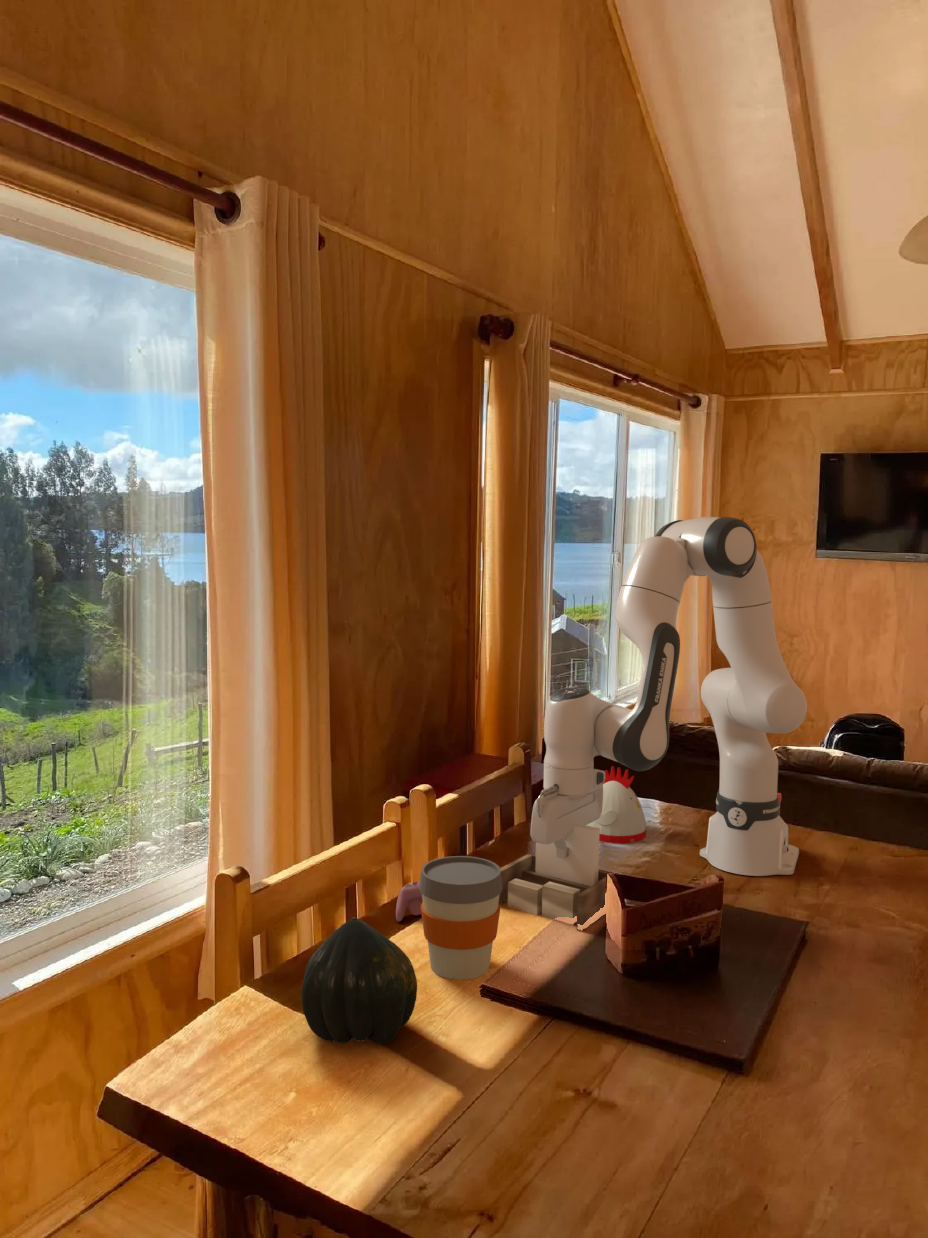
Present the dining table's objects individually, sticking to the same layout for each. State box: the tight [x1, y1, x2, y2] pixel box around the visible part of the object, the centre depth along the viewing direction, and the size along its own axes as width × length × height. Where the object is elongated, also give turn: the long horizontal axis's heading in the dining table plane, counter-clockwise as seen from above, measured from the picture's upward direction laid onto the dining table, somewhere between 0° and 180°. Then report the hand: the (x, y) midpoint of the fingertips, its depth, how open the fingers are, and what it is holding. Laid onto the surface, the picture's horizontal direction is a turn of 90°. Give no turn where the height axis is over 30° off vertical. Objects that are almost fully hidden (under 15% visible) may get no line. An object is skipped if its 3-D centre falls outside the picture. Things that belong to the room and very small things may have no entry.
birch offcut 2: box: [541, 882, 580, 921], centre depth 157 cm, size 2×6×6 cm, turn 54°
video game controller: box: [395, 880, 423, 923], centre depth 157 cm, size 10×5×7 cm, turn 85°
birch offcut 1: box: [507, 878, 542, 916], centre depth 161 cm, size 2×6×4 cm, turn 54°
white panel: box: [535, 824, 600, 886], centre depth 165 cm, size 2×12×14 cm, turn 54°
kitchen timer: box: [586, 765, 647, 844], centre depth 203 cm, size 14×14×15 cm
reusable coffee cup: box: [419, 855, 503, 981], centre depth 139 cm, size 13×13×15 cm
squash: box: [300, 916, 418, 1045], centre depth 121 cm, size 14×15×15 cm
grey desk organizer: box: [498, 852, 619, 925], centre depth 162 cm, size 13×18×6 cm
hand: (566, 855), depth 165 cm, fingers closed on white panel, 2 cm apart
